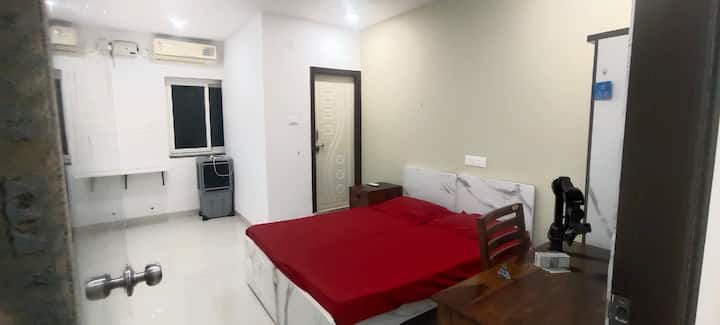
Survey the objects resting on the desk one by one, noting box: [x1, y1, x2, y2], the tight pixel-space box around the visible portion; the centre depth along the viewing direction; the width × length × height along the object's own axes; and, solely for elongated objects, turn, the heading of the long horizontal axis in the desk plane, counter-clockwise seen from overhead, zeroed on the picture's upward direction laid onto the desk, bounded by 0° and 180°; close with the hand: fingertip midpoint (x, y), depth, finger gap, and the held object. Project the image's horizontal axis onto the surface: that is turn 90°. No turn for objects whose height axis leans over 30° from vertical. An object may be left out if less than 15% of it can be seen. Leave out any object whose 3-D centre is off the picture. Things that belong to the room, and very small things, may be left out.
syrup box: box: [534, 251, 571, 269], centre depth 174 cm, size 6×6×14 cm
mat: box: [533, 262, 572, 274], centre depth 172 cm, size 12×11×1 cm
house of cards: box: [496, 262, 512, 280], centre depth 160 cm, size 9×9×8 cm
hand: (569, 246), depth 172 cm, fingers closed
